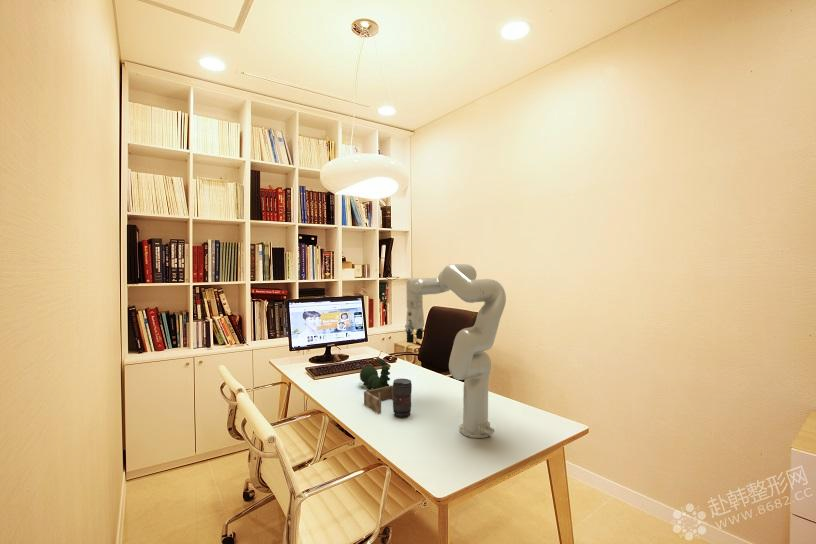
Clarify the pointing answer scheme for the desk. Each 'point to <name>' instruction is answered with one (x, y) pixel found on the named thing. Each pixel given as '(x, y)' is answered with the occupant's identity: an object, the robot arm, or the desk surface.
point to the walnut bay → (377, 397)
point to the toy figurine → (375, 376)
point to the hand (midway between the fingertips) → (414, 340)
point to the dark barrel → (402, 398)
